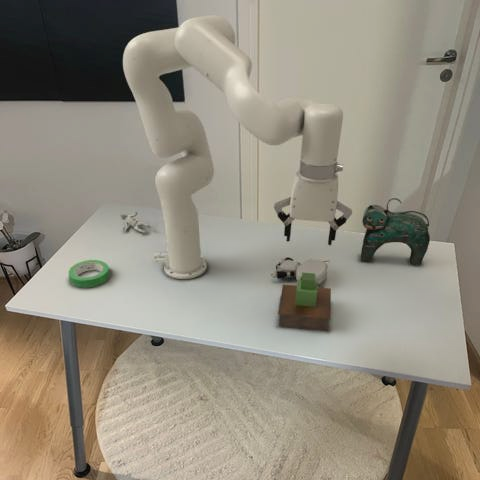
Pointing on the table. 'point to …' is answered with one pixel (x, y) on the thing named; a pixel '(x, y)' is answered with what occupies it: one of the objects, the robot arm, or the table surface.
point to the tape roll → (92, 280)
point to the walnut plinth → (304, 310)
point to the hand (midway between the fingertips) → (308, 240)
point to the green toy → (307, 290)
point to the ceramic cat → (394, 232)
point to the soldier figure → (133, 222)
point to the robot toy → (301, 269)
